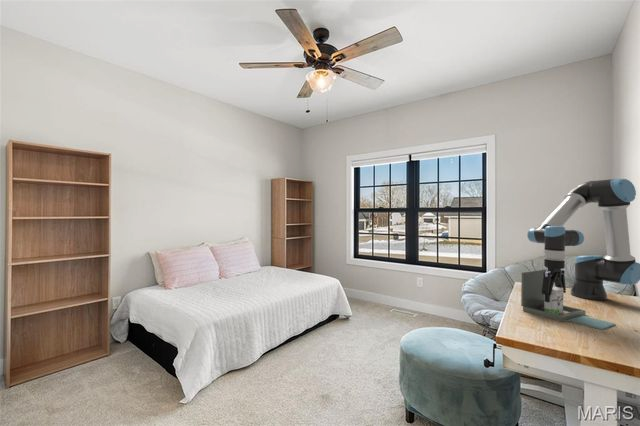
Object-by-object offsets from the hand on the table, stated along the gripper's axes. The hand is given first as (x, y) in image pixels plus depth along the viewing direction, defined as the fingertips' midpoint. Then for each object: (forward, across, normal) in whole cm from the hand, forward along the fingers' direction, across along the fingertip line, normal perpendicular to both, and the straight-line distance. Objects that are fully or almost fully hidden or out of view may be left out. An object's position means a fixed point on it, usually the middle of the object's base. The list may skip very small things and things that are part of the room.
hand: (553, 307), depth 138 cm
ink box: (+3, 0, 0) cm, 3 cm away
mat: (+2, 0, +14) cm, 14 cm away
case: (+2, 0, 0) cm, 2 cm away
